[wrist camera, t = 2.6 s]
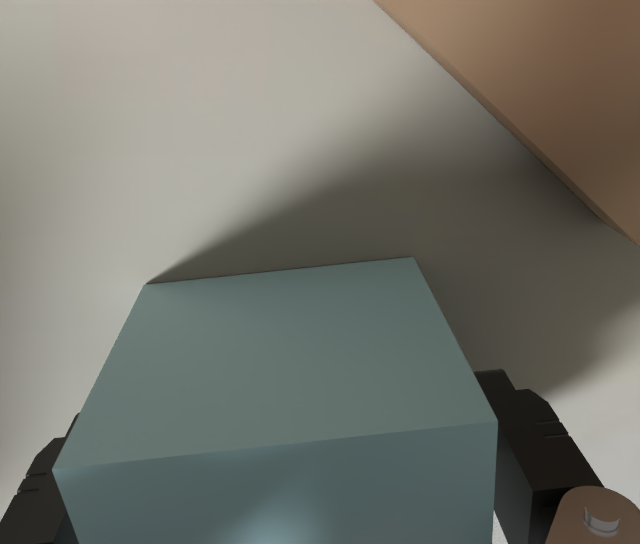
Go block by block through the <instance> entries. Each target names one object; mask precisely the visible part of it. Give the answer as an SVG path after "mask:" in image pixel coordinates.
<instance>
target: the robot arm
mask: <svg viewBox="0 0 640 544" xmlns="http://www.w3.org/2000/svg"><path fill="white" fill-rule="evenodd" d="M473 373H474V375H475V377H476V379H477V381H478V383H479V385H480V387H481V389H482V391H483V393H484V395H485V397H486V399H487V400H488V402H489V404H490V406H491V408H492V410H493V412H494V414H495V416H496V418H497V420H498V433H497V452H496V472H495V492H494V511H495V513H496V516H497V518H498V520H499V523H500V525H501V528H502V530H503V532H504V535H505V537H506V540H507V542H508V544H640V510H639V509H638V508H637V506H636V505H635V504H634V503H632V502H631V501H630V500H629V499H627V498H626V497H624V496H623V495H621V494H619V493H617V492H615V491H612V490H610V489H607V488H605V487H604V486H603V484H602V483H601V481H600V480H599V478H598V477H597V475H596V474H595V472H594V471H593V469H592V468H591V466H590V465H589V463H588V462H587V460H586V459H585V457H584V456H583V454H582V453H581V451H580V450H579V448H578V447H577V445H576V444H575V442H574V441H573V439H572V438H571V436H569V435H568V432H567V430H566V429H565V427H564V426H563V424H562V423H561V422H559V418H558V417H557V415H556V414H555V412H554V411H553V409H552V408H551V406H550V405H549V403H548V402H547V401H545V400H544V399H543V398H541V397H540V396H538V395H537V394H536V393H534V392H533V391H531V390H530V389H523V390H515V388H514V386H513V385H512V383H511V381H510V380H509V378H508V376H507V375H506V373H505V372H504V371H503V370H502V369H497V370H488V371H478V372H473ZM79 414H80V413H78V414H77V415H76V416H75V418H74V420H73V422H72V424H71V426H70V428H69V430H68V432H67V434H66V436H65V437H62V438H54V439H53V440H52V441H51V442H50V443H49V444H48V445H47V446H46V447H45V448H44V449H43V450H42V451H41V452H39V453H38V454H37V455H36V457H35V459H34V460H33V462H32V464H31V466H30V468H29V470H28V471H27V473H26V478H25V479H23V481H22V483H21V484H20V486H19V488H18V490H17V495H15V496H14V497H13V499H12V501H11V503H10V505H9V507H8V509H7V510H6V512H5V514H4V516H3V518H2V520H1V522H0V544H79V542H78V539H77V536H76V534H75V531H74V528H73V526H72V523H71V520H70V517H69V515H68V512H67V509H66V507H65V504H64V501H63V499H62V496H61V493H60V491H59V488H58V485H57V483H56V480H55V477H54V475H53V472H52V468H53V466H54V464H55V462H56V460H57V458H58V456H59V454H60V452H61V450H62V448H63V446H64V444H65V442H66V440H67V438H68V436H69V434H70V432H71V430H72V428H73V426H74V424H75V422H76V420H77V418H78V416H79Z"/></svg>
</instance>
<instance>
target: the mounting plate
mask: <svg viewBox="0 0 640 544" xmlns="http://www.w3.org/2000/svg"><path fill="white" fill-rule="evenodd" d="M373 1H375V2H376V3H377V4H378V5H379V6H380V7H381V8H382V9H383V10H384V11H385V12H386V13H387V14H388V15H389V16H390V17H391V18H392V19H393V20H394V21H395V22H396V23H397V24H398V25H400V26H401V27H402V28H403V29H404V30H405V31H406V32H407V33H408V34H409V35H410V36H411V37H412V38H413V39H414V40H415V41H416V42H417V43H418V44H419V45H420V46H421V47H422V48H423V49H425V50H426V51H427V52H428V53H429V54H430V55H431V56H432V57H433V58H434V59H435V60H436V61H437V62H438V63H439V64H440V65H441V66H442V67H443V68H444V69H445V70H446V71H447V72H448V73H449V74H451V75H452V76H453V77H454V78H455V79H456V80H457V81H458V82H459V83H460V84H461V85H462V86H463V87H464V88H465V89H466V90H467V91H468V92H469V93H470V94H471V95H472V96H473V97H474V98H476V99H477V100H478V101H479V102H480V103H481V104H482V105H483V106H484V107H485V108H486V109H487V110H488V111H489V112H490V113H491V114H492V115H493V116H494V117H495V118H496V119H497V120H498V121H499V122H501V123H502V124H503V125H504V126H505V127H506V128H507V129H508V130H509V131H510V132H511V133H512V134H513V135H514V136H515V137H516V138H517V139H518V140H519V141H520V142H521V143H522V144H523V145H524V146H526V147H527V148H528V149H529V150H530V151H531V152H532V153H533V154H534V155H535V156H536V157H537V158H538V159H539V160H540V161H541V162H542V163H543V164H544V165H545V166H546V167H547V168H548V169H549V170H550V171H552V172H553V173H554V174H555V175H556V176H557V177H558V178H559V179H560V180H561V181H562V182H563V183H564V184H565V185H566V186H567V187H568V188H569V189H570V190H571V191H572V192H573V193H574V194H575V195H577V196H578V197H579V198H580V199H581V200H582V201H583V202H584V203H585V204H586V205H587V206H588V207H589V208H590V209H591V210H592V211H593V212H594V213H595V214H596V215H597V216H598V217H599V218H600V219H602V220H603V221H604V222H605V223H606V224H607V225H609V226H610V227H612V228H613V229H615V230H616V231H617V232H619V233H620V234H622V235H623V236H625V237H626V238H628V239H629V240H631V241H632V242H634V243H635V244H637V245H638V246H640V0H373Z"/></svg>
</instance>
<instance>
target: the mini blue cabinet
mask: <svg viewBox="0 0 640 544" xmlns="http://www.w3.org/2000/svg"><path fill="white" fill-rule="evenodd" d="M497 433H498V420H497V418H496V416H495V414H494V412H493V410H492V408H491V406H490V404H489V402H488V400H487V399H486V397H485V395H484V393H483V391H482V389H481V387H480V385H479V383H478V381H477V379H476V377H475V375H474V373H473V371H472V369H471V367H470V366H469V364H468V362H467V360H466V358H465V356H464V354H463V352H462V350H461V348H460V346H459V344H458V342H457V340H456V338H455V336H454V334H453V333H452V331H451V329H450V327H449V325H448V323H447V321H446V319H445V317H444V315H443V313H442V311H441V309H440V307H439V305H438V303H437V301H436V300H435V298H434V296H433V294H432V292H431V290H430V288H429V286H428V284H427V282H426V280H425V278H424V276H423V274H422V272H421V270H420V268H419V267H418V265H417V263H416V261H415V259H414V257H405V258H396V259H386V260H377V261H367V262H358V263H348V264H338V265H329V266H319V267H310V268H300V269H291V270H281V271H272V272H262V273H253V274H243V275H233V276H224V277H214V278H205V279H195V280H186V281H176V282H167V283H157V284H148V285H144V286H143V288H142V290H141V292H140V294H139V296H138V298H137V300H136V302H135V304H134V306H133V308H132V310H131V312H130V314H129V316H128V318H127V320H126V322H125V324H124V326H123V328H122V330H121V332H120V334H119V336H118V338H117V340H116V342H115V344H114V346H113V348H112V350H111V352H110V354H109V356H108V358H107V360H106V362H105V364H104V366H103V368H102V370H101V372H100V374H99V376H98V378H97V380H96V382H95V384H94V386H93V388H92V390H91V392H90V394H89V396H88V398H87V400H86V402H85V404H84V406H83V408H82V410H81V412H80V414H79V416H78V418H77V420H76V422H75V424H74V426H73V428H72V430H71V432H70V434H69V436H68V438H67V440H66V442H65V444H64V446H63V448H62V450H61V452H60V454H59V456H58V458H57V460H56V462H55V464H54V466H53V468H52V472H53V475H54V477H55V480H56V483H57V485H58V488H59V491H60V493H61V496H62V499H63V501H64V504H65V507H66V509H67V512H68V515H69V517H70V520H71V523H72V526H73V528H74V531H75V534H76V536H77V539H78V542H79V544H492V531H493V512H494V492H495V472H496V452H497Z"/></svg>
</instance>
